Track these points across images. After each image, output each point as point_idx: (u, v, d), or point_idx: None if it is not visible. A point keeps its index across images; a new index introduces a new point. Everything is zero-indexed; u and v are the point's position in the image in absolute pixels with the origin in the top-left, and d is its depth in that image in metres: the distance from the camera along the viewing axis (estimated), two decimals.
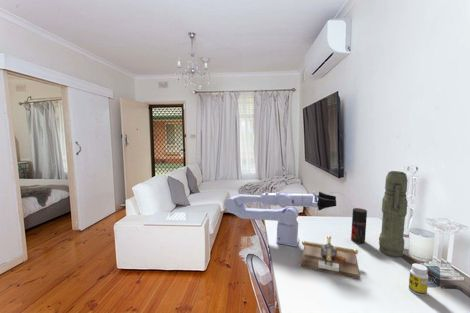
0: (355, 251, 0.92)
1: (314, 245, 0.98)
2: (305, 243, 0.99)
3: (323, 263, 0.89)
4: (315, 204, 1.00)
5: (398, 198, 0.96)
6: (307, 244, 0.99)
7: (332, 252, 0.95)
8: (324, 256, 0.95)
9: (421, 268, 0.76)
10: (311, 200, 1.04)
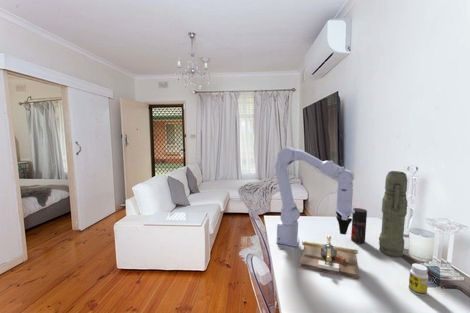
0: (355, 251, 0.92)
1: (314, 245, 0.98)
2: (305, 243, 0.99)
3: (323, 263, 0.89)
4: (345, 218, 0.92)
5: (398, 198, 0.96)
6: (307, 244, 0.99)
7: (332, 252, 0.95)
8: (324, 256, 0.95)
9: (421, 268, 0.76)
10: (346, 210, 0.96)
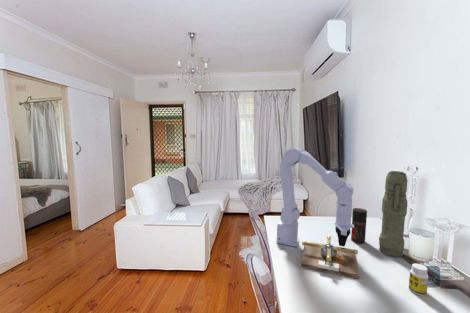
0: (355, 251, 0.92)
1: (314, 245, 0.98)
2: (305, 243, 0.99)
3: (323, 263, 0.89)
4: (344, 233, 0.92)
5: (398, 198, 0.96)
6: (307, 244, 0.99)
7: (332, 252, 0.95)
8: (324, 256, 0.95)
9: (421, 268, 0.76)
10: (345, 224, 0.96)
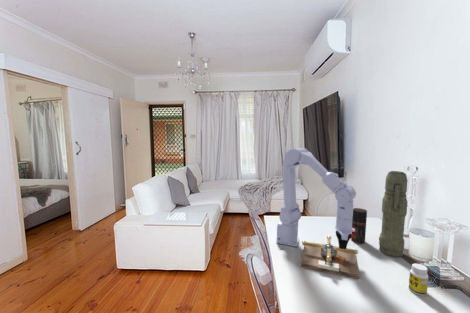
0: (355, 251, 0.92)
1: (314, 245, 0.98)
2: (305, 243, 0.99)
3: (323, 263, 0.89)
4: (345, 238, 0.88)
5: (398, 198, 0.96)
6: (307, 244, 0.99)
7: (332, 252, 0.95)
8: (324, 256, 0.95)
9: (421, 268, 0.76)
10: (346, 229, 0.92)
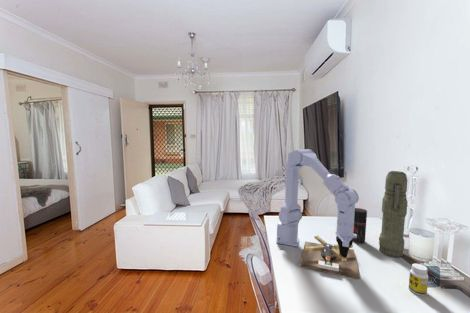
0: (342, 258, 0.87)
1: (320, 241, 1.02)
2: (315, 237, 1.05)
3: (323, 263, 0.89)
4: (346, 244, 0.83)
5: (398, 198, 0.96)
6: (316, 238, 1.04)
7: (326, 251, 0.95)
8: None
9: (421, 268, 0.76)
10: (347, 234, 0.87)
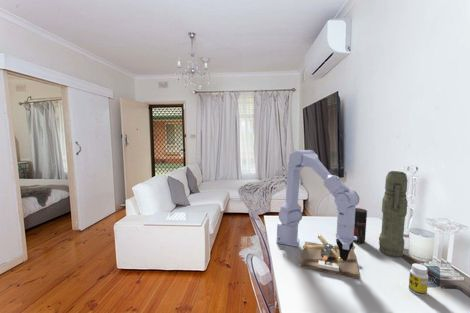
0: (338, 258, 0.87)
1: (322, 241, 1.02)
2: (318, 237, 1.05)
3: (323, 263, 0.89)
4: (346, 247, 0.81)
5: (398, 198, 0.96)
6: (319, 238, 1.05)
7: (326, 251, 0.95)
8: None
9: (421, 268, 0.76)
10: (347, 237, 0.85)
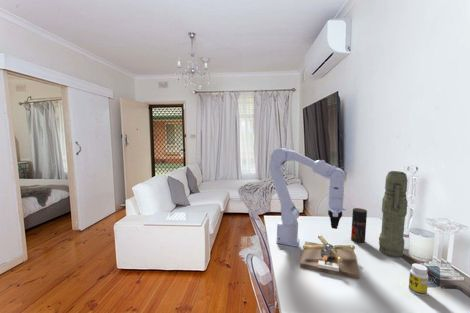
0: (337, 258, 0.87)
1: (322, 241, 1.02)
2: (319, 237, 1.05)
3: (323, 263, 0.89)
4: (335, 215, 0.95)
5: (398, 198, 0.96)
6: (319, 238, 1.05)
7: (326, 251, 0.95)
8: None
9: (421, 268, 0.76)
10: (337, 207, 0.99)
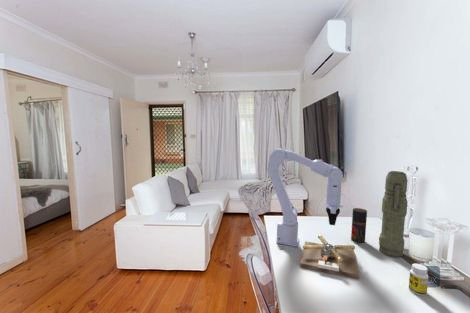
0: (337, 258, 0.87)
1: (322, 241, 1.02)
2: (319, 237, 1.05)
3: (323, 263, 0.89)
4: (333, 211, 0.99)
5: (398, 198, 0.96)
6: (319, 238, 1.05)
7: (326, 251, 0.95)
8: None
9: (421, 268, 0.76)
10: (335, 204, 1.03)
